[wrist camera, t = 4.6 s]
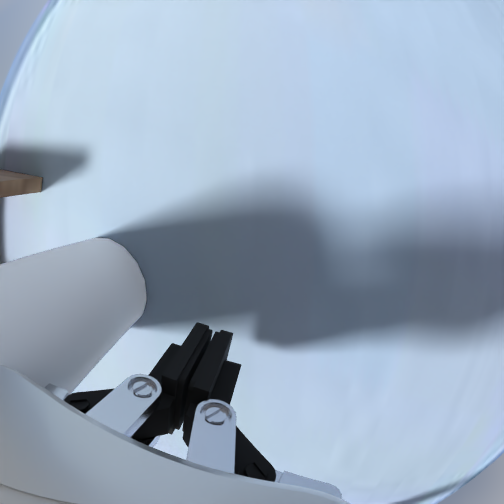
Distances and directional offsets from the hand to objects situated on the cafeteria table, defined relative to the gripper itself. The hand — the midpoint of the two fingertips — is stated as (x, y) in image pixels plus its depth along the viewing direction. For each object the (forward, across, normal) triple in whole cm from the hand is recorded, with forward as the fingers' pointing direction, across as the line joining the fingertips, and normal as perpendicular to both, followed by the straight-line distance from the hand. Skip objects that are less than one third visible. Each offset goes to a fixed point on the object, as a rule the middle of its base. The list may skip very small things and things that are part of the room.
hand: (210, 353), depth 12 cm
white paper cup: (+3, +8, 0) cm, 8 cm away
